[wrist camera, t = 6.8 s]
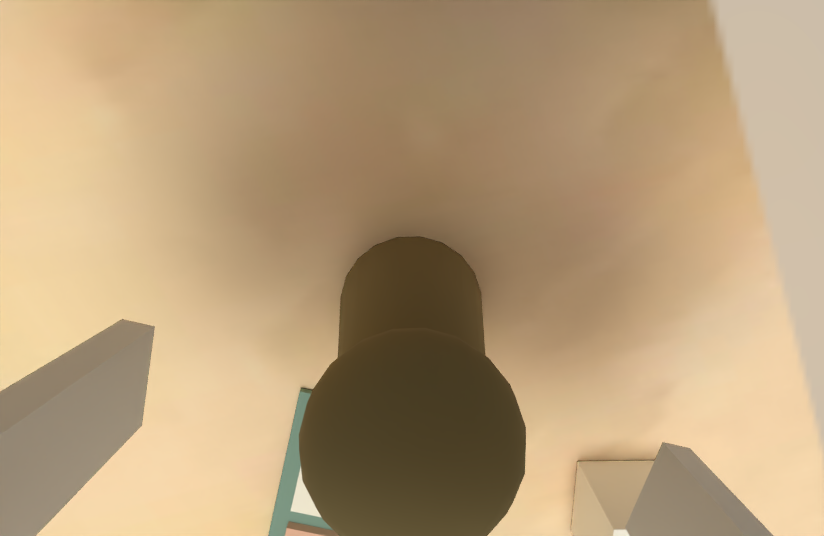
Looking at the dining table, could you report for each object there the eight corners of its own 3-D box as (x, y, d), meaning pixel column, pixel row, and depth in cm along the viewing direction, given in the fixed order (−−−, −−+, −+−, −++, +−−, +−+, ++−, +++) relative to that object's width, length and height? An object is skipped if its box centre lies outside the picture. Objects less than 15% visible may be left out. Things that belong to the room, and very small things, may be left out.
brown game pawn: (469, 223, 19) (547, 326, 8) (491, 356, 20) (580, 587, 10) (325, 251, 19) (220, 385, 8) (357, 380, 21) (303, 630, 10)
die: (577, 461, 22) (617, 536, 18) (662, 460, 22) (721, 534, 18) (570, 530, 23) (606, 616, 19) (651, 529, 23) (705, 615, 19)
